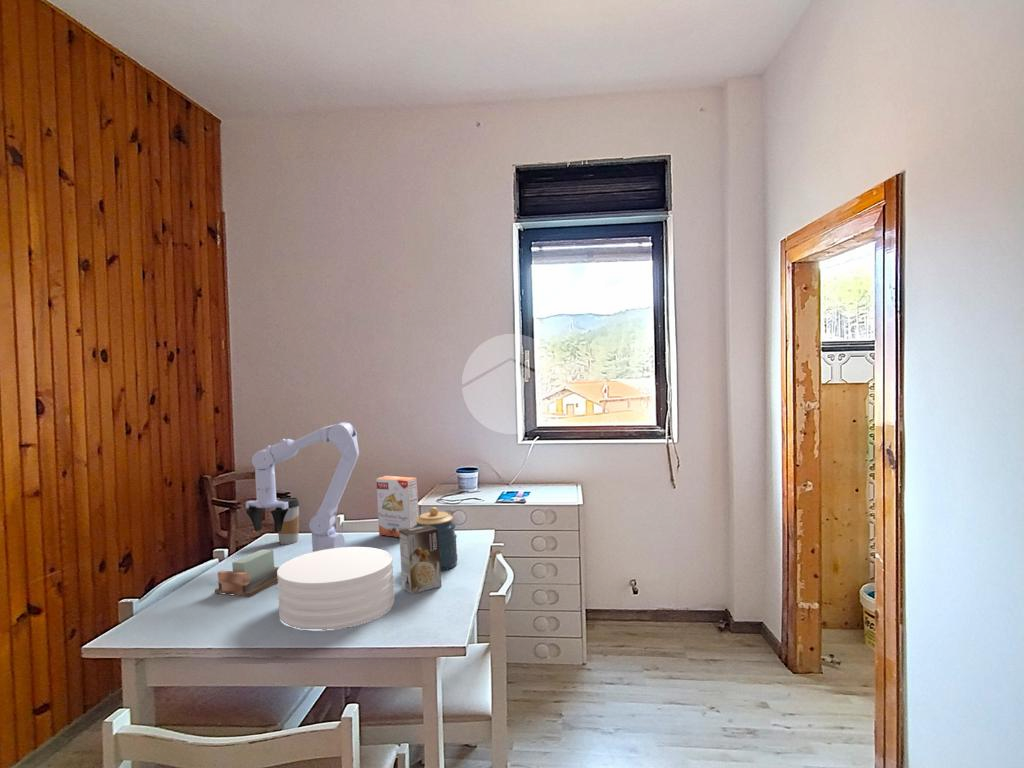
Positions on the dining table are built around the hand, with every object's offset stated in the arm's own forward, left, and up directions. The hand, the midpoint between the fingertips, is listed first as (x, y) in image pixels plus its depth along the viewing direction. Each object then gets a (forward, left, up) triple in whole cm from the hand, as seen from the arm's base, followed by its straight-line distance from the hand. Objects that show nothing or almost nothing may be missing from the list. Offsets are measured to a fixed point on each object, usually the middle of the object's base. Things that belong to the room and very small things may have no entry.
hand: (268, 530), depth 195 cm
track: (-8, +15, -10) cm, 20 cm away
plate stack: (-42, +26, -11) cm, 51 cm away
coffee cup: (+10, -22, -11) cm, 26 cm away
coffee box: (-57, +9, -11) cm, 59 cm away
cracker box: (-26, -36, -11) cm, 46 cm away
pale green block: (-8, +16, -9) cm, 20 cm away
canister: (-53, -9, -11) cm, 55 cm away
